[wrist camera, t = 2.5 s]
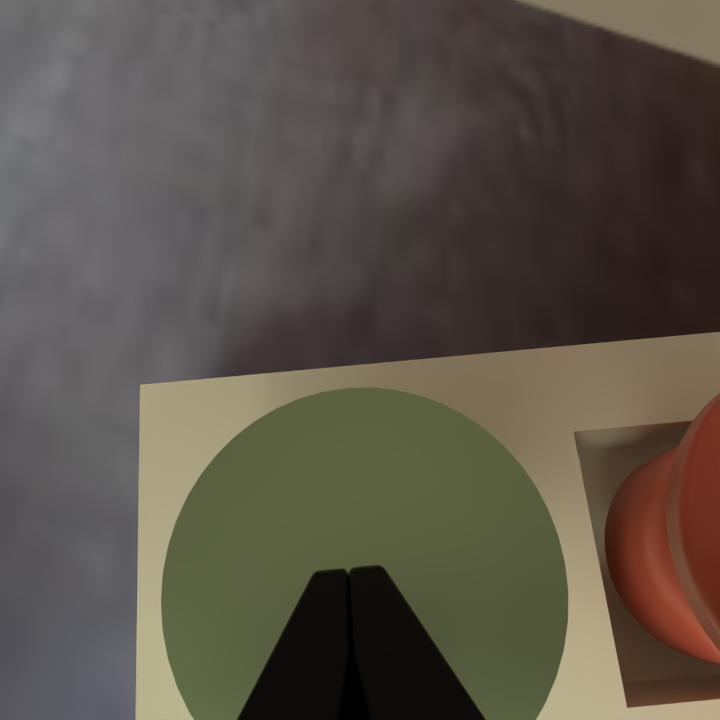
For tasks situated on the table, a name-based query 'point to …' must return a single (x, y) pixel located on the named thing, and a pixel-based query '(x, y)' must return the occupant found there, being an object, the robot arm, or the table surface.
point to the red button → (672, 541)
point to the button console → (528, 446)
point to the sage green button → (366, 546)
